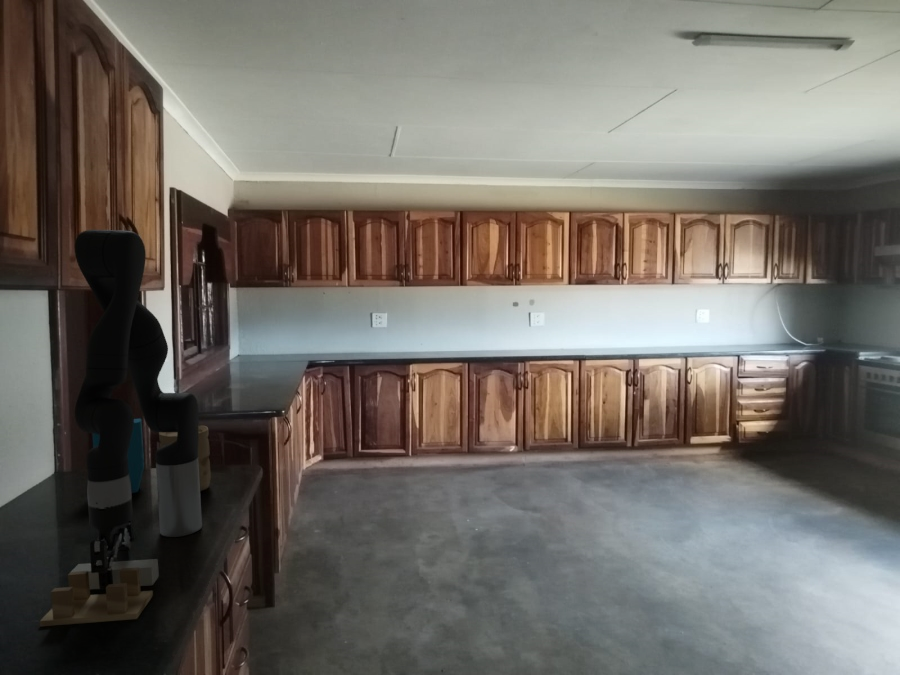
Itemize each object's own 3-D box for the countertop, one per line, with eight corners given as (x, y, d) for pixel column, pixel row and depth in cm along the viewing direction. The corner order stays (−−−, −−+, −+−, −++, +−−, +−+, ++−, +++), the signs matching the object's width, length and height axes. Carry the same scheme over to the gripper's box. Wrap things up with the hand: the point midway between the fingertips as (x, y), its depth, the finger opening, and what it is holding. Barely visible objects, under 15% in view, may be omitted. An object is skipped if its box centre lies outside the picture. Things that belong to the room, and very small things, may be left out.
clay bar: (80, 583, 122) (78, 564, 121) (158, 577, 123) (157, 558, 123) (71, 592, 118) (69, 572, 118) (152, 586, 120) (151, 567, 119)
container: (161, 489, 173) (157, 428, 172) (208, 482, 179) (205, 422, 177) (164, 504, 162) (160, 438, 161) (214, 495, 168) (210, 432, 166)
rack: (63, 602, 114) (60, 571, 113) (152, 595, 116) (151, 565, 115) (40, 626, 106) (37, 593, 105) (137, 618, 108) (134, 586, 107)
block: (145, 485, 177) (141, 418, 175) (144, 491, 173) (140, 422, 170) (98, 491, 172) (93, 422, 170) (96, 497, 168) (91, 426, 166)
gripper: (105, 487, 125) (110, 562, 127) (71, 513, 111) (78, 598, 113) (143, 485, 126) (148, 560, 128) (115, 511, 112) (121, 594, 114)
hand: (115, 577), depth 120 cm, fingers open, 8 cm apart
